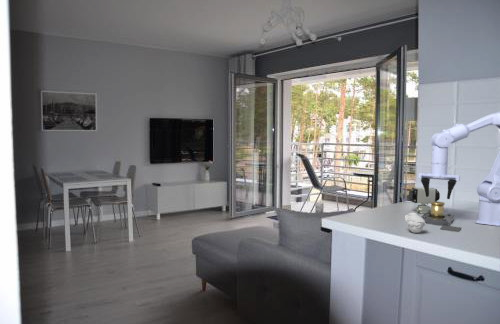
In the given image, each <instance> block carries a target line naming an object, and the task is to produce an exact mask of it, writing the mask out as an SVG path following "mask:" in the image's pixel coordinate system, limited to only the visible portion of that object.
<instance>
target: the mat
mask: <svg viewBox="0 0 500 324" xmlns="http://www.w3.org/2000/svg"><path fill="white" fill-rule="evenodd" d="M439 229H440V230H442V231H450V232H457V233H459V232H460V231H461V230H462V227H461V226H459V227H458V226H452V225H449V226H446V225H443V226H440V228H439Z"/></svg>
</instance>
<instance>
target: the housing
mask: <svg viewBox="0 0 500 324" xmlns="http://www.w3.org/2000/svg"><path fill="white" fill-rule="evenodd" d="M420 217H422V218H423V219H424V220H425V223H426V224H425V225H432V226H440V227H442V226H443V225H446V226H450V225H451V223H452V222H453V221H454V218H455V215H454V214H451V213H443V218H435V217H431V211H430V212H426V213H425V214H421V216H420Z"/></svg>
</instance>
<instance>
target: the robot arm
mask: <svg viewBox="0 0 500 324" xmlns="http://www.w3.org/2000/svg"><path fill="white" fill-rule="evenodd" d="M488 126H496V128H498V129H499V130H500V110H499V111H496V112H493V113H490V114H487V115H485V116H482V117H481V118H479V119H477V120H474V121H472V122H469V123H468V124H464V123H454V124H453V126H452V127H450V128H448V129H445V128H444V129H442V130H441V132H437V133H434V134H433V135H432V136H431V139H430V140H429V142H430V145H431V147H432V148H431V150H432V151H431V165H430V172H429V173H427V172H425V173H423V172H420V173H418V179H420V183H421V184H422V186H424V189H425V194H426V197H429V188H430V182H431V181H430V180H442V181H447V195H446V199H447V200H450V199H451V195H452V192H453V190H454V187H455V185H456V184H457V182H460V181H461V180H460V179H461V176H460V175H458V174H457V175H454V174H448V163H449V161H448V160H449V147H450V145H451V144H455V143H457V142H459V141H461V140H464V139H467V138H468V137H469V135H470V133H471V132H472V133H473V132H474V131H475V132H476V131H478V130H480V129H482V128H486V127H488ZM476 193H477V195H478V196H479V198H478V215H477V220H476V221H475V224H482V225H490V226H497V227H500V150H499V151H498V154H497V156H496V158H495V160H494V162H493V164H492V166H491V169H490V172H489V174H488V175H485V177H484V178H483V180H482V181H481V182H480V183H479V184H478V185H477V186H476Z"/></svg>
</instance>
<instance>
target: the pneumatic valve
mask: <svg viewBox="0 0 500 324" xmlns="http://www.w3.org/2000/svg"><path fill="white" fill-rule="evenodd" d="M422 186H423V185H422ZM440 197H441V194H440V192H439V190H438V188H434V187H429V197H426V194H425V189H424V186H423V187H412V188H411V190H409V191H408V199H409V200H410V201H411V202H412V203H414V204H418V205H417V206H416V213H419V214H421V215H424V214H425V213H426V212H431V206H430V205H429V204H431V202H432V201H438V202H439V200H440Z"/></svg>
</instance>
